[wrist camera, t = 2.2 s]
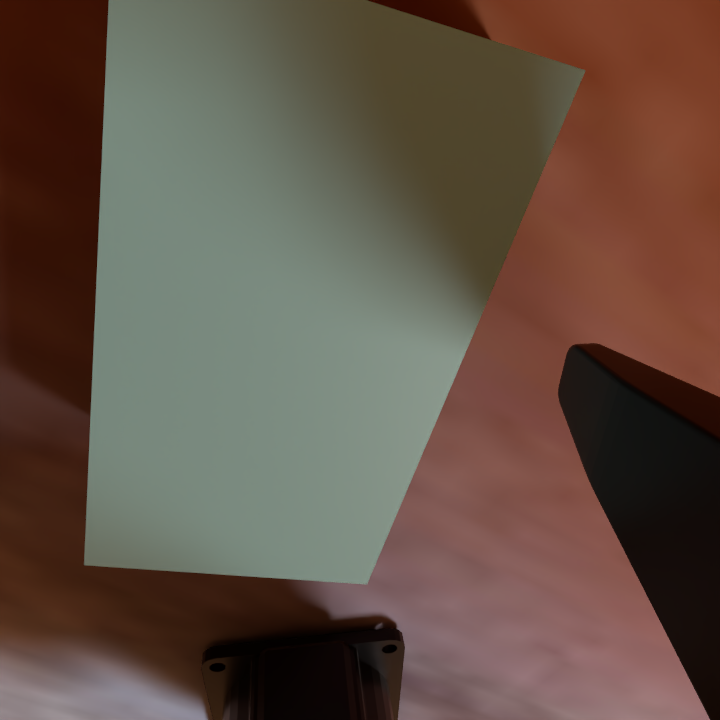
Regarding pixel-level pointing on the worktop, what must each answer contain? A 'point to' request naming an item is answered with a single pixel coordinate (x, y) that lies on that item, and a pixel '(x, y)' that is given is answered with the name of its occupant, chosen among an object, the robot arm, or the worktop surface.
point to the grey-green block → (292, 270)
